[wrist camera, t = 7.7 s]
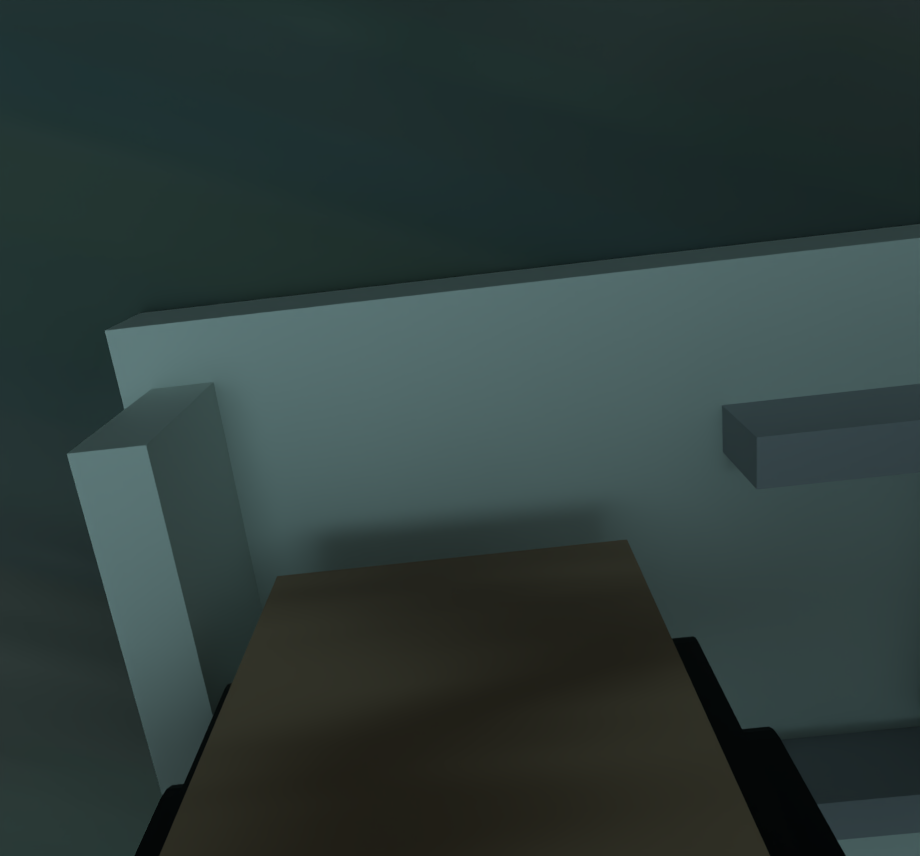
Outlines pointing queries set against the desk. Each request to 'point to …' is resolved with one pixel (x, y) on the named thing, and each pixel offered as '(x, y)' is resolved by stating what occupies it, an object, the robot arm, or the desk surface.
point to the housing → (465, 720)
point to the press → (551, 476)
